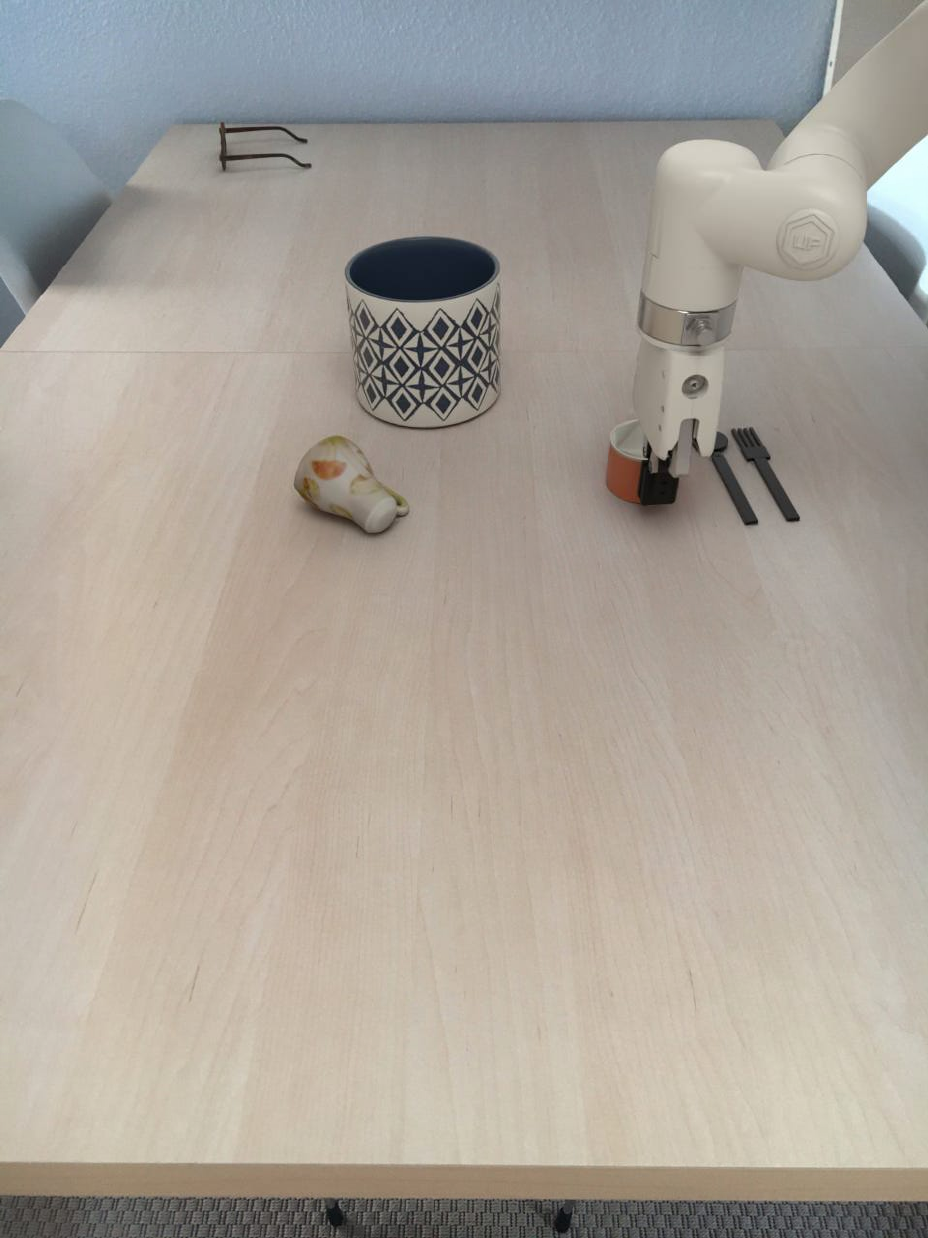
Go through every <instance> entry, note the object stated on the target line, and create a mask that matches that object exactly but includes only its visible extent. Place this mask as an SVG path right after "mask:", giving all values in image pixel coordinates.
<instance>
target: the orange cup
mask: <svg viewBox="0 0 928 1238" xmlns="http://www.w3.org/2000/svg"><path fill="white" fill-rule="evenodd" d="M643 436H644V431H643V428H642V426H641V424H640V422H639V419H638V418H637V419H632V420H626V421H624V422H622V423H619V424H617V425H616V426H614V428H613V429H611V432H610V433H609V444H608V445H609V446H608V455H607V463H606V464H607V465H606V476H605V483H606V486H607V489H609V491H610V492H611V493H612V494H613V495H614V496H616V497H618V498H619V499H621V500H624V501H626V502H629V503H633V504H634V503H635V504H641V502H640V498H639V497H638V495H637V490H638V483H639V476H640V469H641V462H642V460H648V458H643V454H642V448H643ZM680 478H681V477H679V479H680ZM679 484H680V482H679V483H678V485H679ZM678 489H679V487H678V488H677V490H678Z"/></svg>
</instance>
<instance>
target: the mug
mask: <svg viewBox="0 0 928 1238" xmlns="http://www.w3.org/2000/svg"><path fill="white" fill-rule="evenodd" d="M293 487H294V489H295V491H296V492H297V493H298V494H299V495H300V497H301V498H302V499H303V500H304V501H305V502H306V503H308V505H310V506H312V507H313V508H315V509H317V510H320V511H323V512H325V513H329V514H333V515H336V516H340V517H344V518H347V519H349V520H350V521H353V522H354V523H355V524H357V525H358V526H359V527H360V528H362V529H363V530H364V531H365V532H367V533H370V534H373V533H381V532H383V531H385V530H386V529H387V528H388V527H390V525H391V524H392V523H393V522H394V520H395V518H396V516H397V515H398V516H401V517H402V516H406V515H407V514H408V513H409V511H410V504H409V502H408V501H407V500H406V499H405V498H404V497H403V496H402V495H400V494H398V493H396V492H395V491H394V490H392V489H390V488H389V487H387V486H386V485H384V484H383V483H382V482H380V480H378V479H377V477H376V475H375V473H374V471H373V469H372V466H371V465H370V462H369V460H368V458H367V456H366V455H365V453H364V451H363V450H362V449H361V447H359V446H358V445H357V444H356V443H355V442H354V441H352V440H350V439H349V438H346V437H345V436H341V435H331V436H328V437H325V438H323V439H322V440H320V441H318V442H317V443H315V444H314V445H313V446H311V447H310V448H309V449H308V450H307V452H305V454H304V455H303V456H302V458H301V460H300V462H299V464H298V467H297V469H296V471H295V475H294V481H293Z"/></svg>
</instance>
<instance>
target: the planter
mask: <svg viewBox="0 0 928 1238" xmlns="http://www.w3.org/2000/svg"><path fill="white" fill-rule="evenodd" d="M343 275H344V285H345V296H346V305H347V307H346V308H347V316H348V324H349V325H348V326H349V335H350V343H351V352H352V353H351V354H352V363H353V371H354V381H355V390H356V396H357V399H358V402H359V403H360V405H361V406H362V407H363V408H364V410H365V411H367V412H368V413H369V414H371V415H372V416H374V417H376V418H378V419H380V420H382V421H385V422H387V423H390V424H394V425H397V426H403V427H408V428H424V429H425V428H426V429H428V428H440V427H441V428H442V427H446V426H448V427H449V426H452V425H456V424H460V423H463V422H466V421H469V420H471V419H473V418H475V417H477V416H479V415H480V414H482V413H484V412H485V411H487V410H488V409H489V408H490V407H491V406H492V405H493V404H494V402H495V401H496V400H497V398H498V396H499V394H500V389H501V297H502V296H501V294H502V293H501V289H502V288H501V287H502V286H501V263H500V260H499V259H498V257H497V256H496V255H495V254H494V253H493V252H492V251H490V250H489V249H488V248H487V247H485V246H482V245H480V244H477V243H475V242H472V241H469V240H464V239H460V238H454V237H448V236H439V235H437V236H433V235H424V236H423V235H422V236H409V237H407V236H406V237H400V238H395V239H391V240H386V241H381V242H379V243H376V244H372V245H371V246H368V247H366V248H364V249H362V250H360V251H359V252H357V253H356V254H355V255H354V256H352V257H351V258H350V259H349V260H348V262H347V263H346V266H345V268H344V272H343Z"/></svg>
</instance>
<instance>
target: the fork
mask: <svg viewBox="0 0 928 1238" xmlns="http://www.w3.org/2000/svg"><path fill="white" fill-rule="evenodd" d="M730 432H731V434H732V436H733V438H734V439H735V441H736V442H737V445H738V446H739V448H740V450H741V454H742V455H743V457H744V459H745V461H746V462H752V463H753V464H754V466H755V467H756V469H757V471H758V473H759V475H760V476H761V478H762V480H763V481H764V484H765V485H766V487H767V489H768V491H769V493H770V494H771V496H772V498H773V499H774V501H775V503H776V505H777V506H778V508H779V510H780V512H781V514H782V515H783V517H784V519H785V521H786V522H799V521H801V516H800V515H799V513H798V511H797V510H796V508H795V506H794V504H793V502H792V501H791V499H790V497H789V496H788V493H787V492H786V490H785V488H784V487H783V486H782V483H781V482H780V481H779V479H778V477H777V475H776V473H775V471H774V470H773V467H772V466H771V464H770V463H769V461H770V460H771V459H772V456H771V454H770V453H769V451H768V450H767V447H766V446H765V445H764V444H763V442H762V440H761V438H760V437H759V436H758V434H757V432H756V430H755V429H754V427H753V426H751V427H743V429H742V428H741V427H737V429H736V428H731V429H730Z"/></svg>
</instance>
